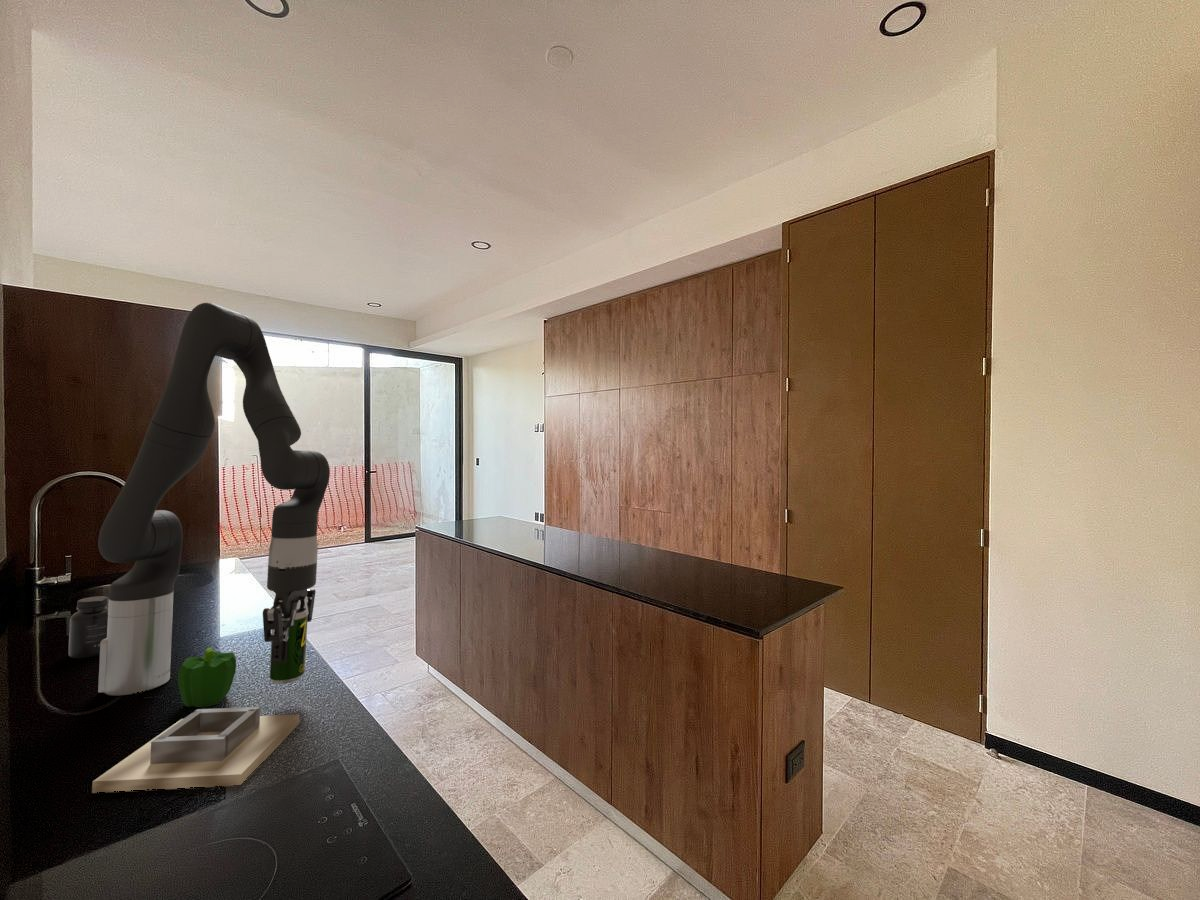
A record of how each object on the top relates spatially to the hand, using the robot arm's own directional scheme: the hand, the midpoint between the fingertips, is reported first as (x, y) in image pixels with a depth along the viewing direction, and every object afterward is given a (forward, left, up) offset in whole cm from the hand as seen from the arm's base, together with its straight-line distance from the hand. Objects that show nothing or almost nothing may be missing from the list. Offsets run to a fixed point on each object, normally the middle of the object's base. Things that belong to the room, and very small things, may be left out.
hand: (288, 655), depth 89 cm
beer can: (0, 0, -4) cm, 4 cm away
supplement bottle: (-55, +28, -9) cm, 62 cm away
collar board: (-4, -15, -9) cm, 18 cm away
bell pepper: (-15, +2, -9) cm, 17 cm away
